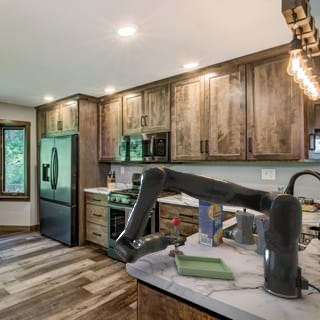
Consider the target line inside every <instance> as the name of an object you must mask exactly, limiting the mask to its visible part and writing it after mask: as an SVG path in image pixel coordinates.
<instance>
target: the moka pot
mask: <svg viewBox="0 0 320 320" xmlns="http://www.w3.org/2000/svg"><path fill="white" fill-rule="evenodd" d="M254 222H255V226H256V231H257V232H256V233H257V239H256V248H255V251H256V253H257V254H259V255H261V256H264V228H265V224H266V223H268V222H269V216H267V215H265V214H257V215H255V217H254Z"/></svg>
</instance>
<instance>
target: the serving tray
mask: <svg viewBox="0 0 320 320" xmlns="http://www.w3.org/2000/svg"><path fill="white" fill-rule="evenodd" d="M174 261H175V264H176V267H177V272H178V274H179V275H181V276H192V277H203V278H213V279H222V280H223V279H224V280H232V281H233V280H234V272H233V271H232V270H231V268H230V267H229V266H228V264H227V263H226V262H225V261H224V259H223V258H222V257H211V256H198V255H187V254H183V255H176V254H175V257H174Z"/></svg>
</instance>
